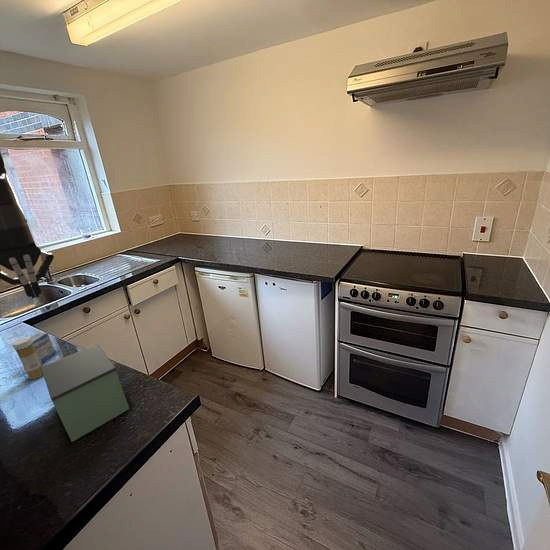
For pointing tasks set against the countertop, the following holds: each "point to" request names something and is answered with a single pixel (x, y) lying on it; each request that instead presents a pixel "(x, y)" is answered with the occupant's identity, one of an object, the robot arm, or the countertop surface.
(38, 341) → the medicine box
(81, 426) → the mint green storage bin
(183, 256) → the countertop surface
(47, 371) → the pod lid
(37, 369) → the sprinkles bottle
